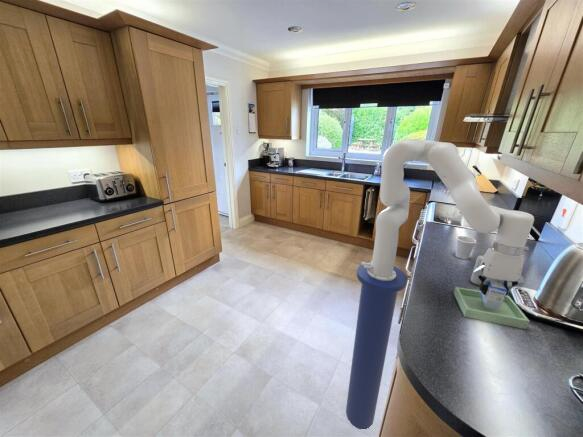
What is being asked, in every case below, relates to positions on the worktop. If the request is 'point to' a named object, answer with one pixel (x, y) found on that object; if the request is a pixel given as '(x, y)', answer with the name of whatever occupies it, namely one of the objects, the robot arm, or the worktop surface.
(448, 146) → the robot arm
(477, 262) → the beverage can
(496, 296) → the medicine box
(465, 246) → the dixie cup
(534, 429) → the worktop surface
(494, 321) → the tray
